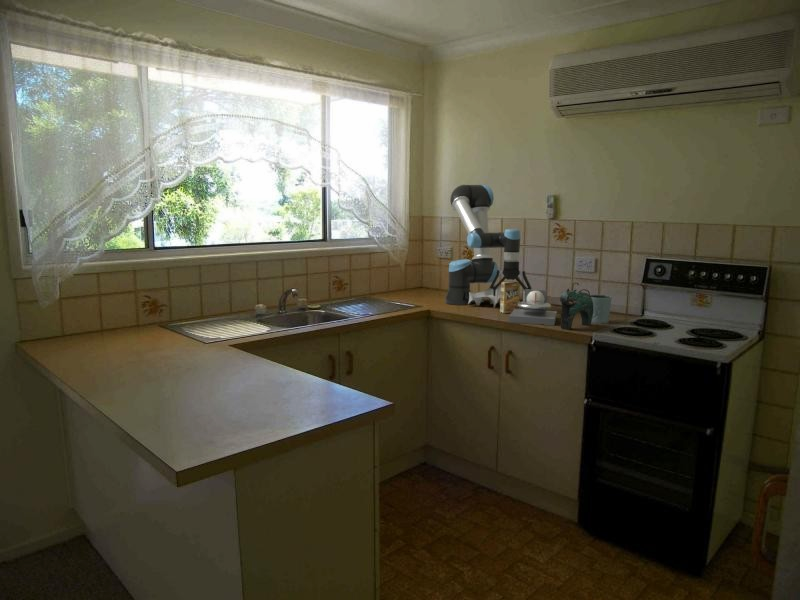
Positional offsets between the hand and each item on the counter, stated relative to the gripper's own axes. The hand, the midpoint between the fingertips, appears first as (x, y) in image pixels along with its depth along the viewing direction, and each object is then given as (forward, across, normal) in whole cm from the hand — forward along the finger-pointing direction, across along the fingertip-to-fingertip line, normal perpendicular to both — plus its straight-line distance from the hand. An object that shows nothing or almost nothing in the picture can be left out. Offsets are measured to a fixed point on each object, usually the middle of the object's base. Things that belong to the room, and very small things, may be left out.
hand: (510, 303), depth 289 cm
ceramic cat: (+5, +32, -26) cm, 41 cm away
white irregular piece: (+5, -14, +22) cm, 27 cm away
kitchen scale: (+5, +13, -16) cm, 21 cm away
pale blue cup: (+5, +42, -10) cm, 43 cm away
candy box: (+5, 0, 0) cm, 5 cm away
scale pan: (-1, +13, -16) cm, 20 cm away
